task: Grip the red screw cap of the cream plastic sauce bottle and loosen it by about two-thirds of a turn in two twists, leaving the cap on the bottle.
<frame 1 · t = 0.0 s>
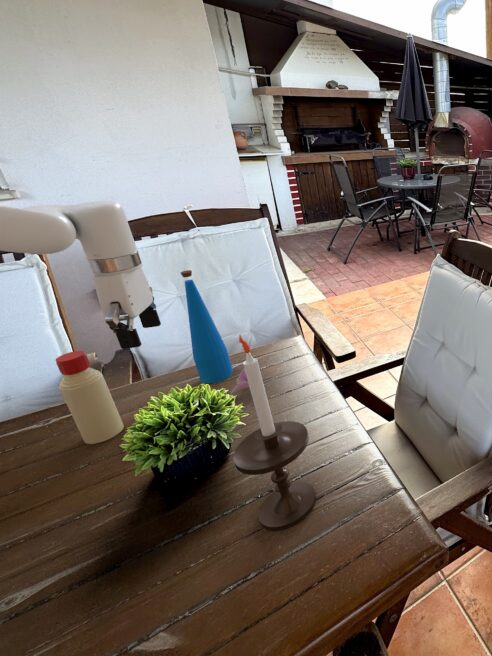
hand: (142, 336, 87), 21 cm above the table, tool pointing down, fingers open, 9 cm apart
bottle: (217, 376, 109), on the table
cap: (71, 357, 82), point 20 cm above the table, screwed on, not yet turned
candlestick: (288, 507, 72), on the table
sauce bottle: (104, 433, 89), on the table
lily: (248, 396, 101), on the table
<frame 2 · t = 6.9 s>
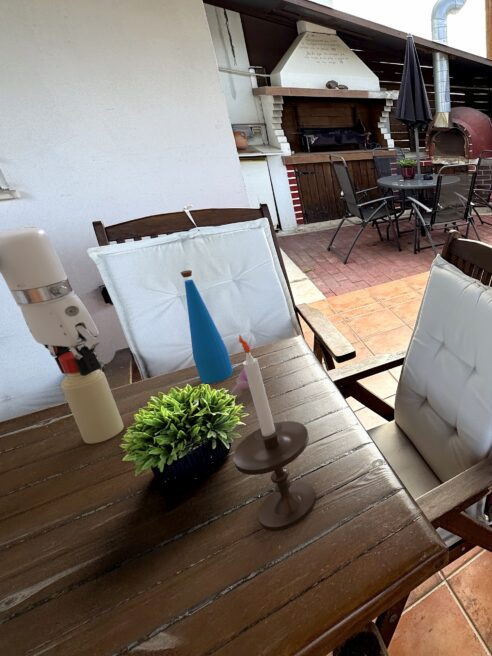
hand: (81, 370, 84), 16 cm above the table, tool pointing down, fingers closed on cap, 4 cm apart
cap: (73, 355, 82), point 20 cm above the table, turned 120° so far, risen 0.1 cm, still on its thread, touching gripper
everything else where it was.
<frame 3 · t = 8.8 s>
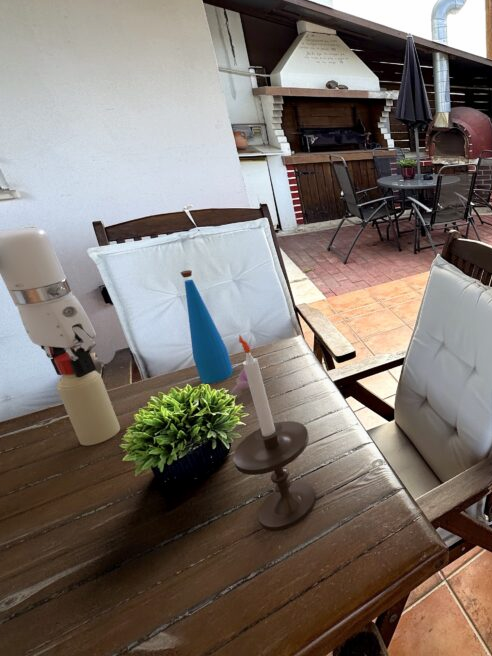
hand: (77, 371, 83), 16 cm above the table, tool pointing down, fingers closed on cap, 4 cm apart
cap: (69, 357, 82), point 20 cm above the table, turned 120° so far, risen 0.1 cm, still on its thread, touching gripper
sauce bottle: (100, 434, 88), on the table, touching gripper
everything else where it was.
when the fingers open (17 cm above the table, at t = 18.8 s): cap stays where it is, point 20 cm above the table.
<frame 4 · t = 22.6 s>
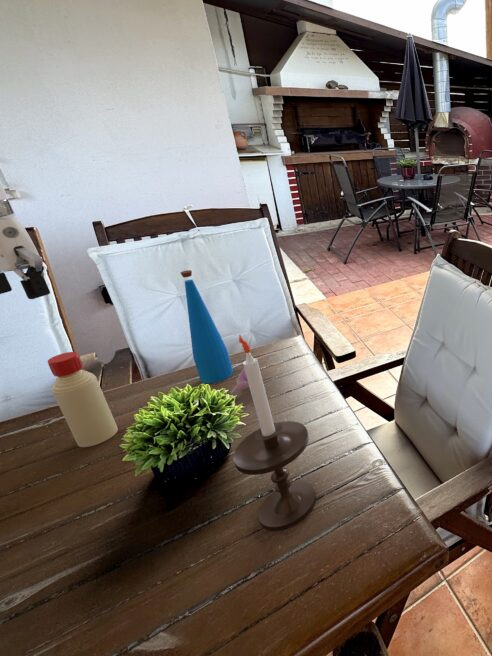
hand: (20, 294, 81), 32 cm above the table, tool pointing down, fingers open, 9 cm apart
cap: (63, 358, 81), point 20 cm above the table, turned 240° so far, risen 0.3 cm, still on its thread
sauce bottle: (98, 436, 88), on the table
everything else where it was.
at the end: cap turned 0.67 turns (still on its thread); cap is still on its thread (0.67 turns); sauce bottle tilted 0° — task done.
